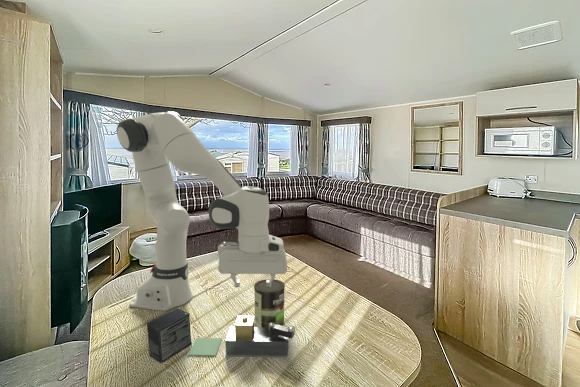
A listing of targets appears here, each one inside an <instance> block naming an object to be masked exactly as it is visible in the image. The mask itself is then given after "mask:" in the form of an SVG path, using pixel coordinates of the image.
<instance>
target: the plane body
mask: <svg viewBox="0 0 580 387" xmlns="http://www.w3.org/2000/svg"><path fill="white" fill-rule="evenodd" d="M289 339H290V338H287V337H284V336H280V335H277V334H273V335H270V334H269V327H255V326H254V332H253V337H252V338H235V326H230V327H229V330H228V333H227V335H226V339H225V358H262V359H263V358H265V359H266V358H267V359H268V358H269V359H273V358H274V359H288V358H289Z"/></svg>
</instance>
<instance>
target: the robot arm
mask: <svg viewBox="0 0 580 387" xmlns="http://www.w3.org/2000/svg"><path fill="white" fill-rule="evenodd" d="M116 136H117V139H118V142H119V144H120V145H121V147H122V148H123V149H124V150H126V151H128V152H130V153H132V159H133V163H134V167H135V170H136V172H137V175H138V178H139V181H140V184H141V188H142V190H143V193H144V197H145V201H146V204H147V208H148V211H149V214H150V218H151V220H152V221H153V223H154V224H155V226H156V240H155V241H156V243H155V247H154V248H155V263H154V265H153V266H151V268H150V269H149V271H150V272H149V274H150V276H148V277H147V278H146V279H144V281H142V282H141V283H140V284H139V286H138V287H137V290H136V294H135V295H133V297H132V299H131V300H130V304H129V305H130V307H131V308H132V307H133V308H138V309H139V308H140V309H145V310H146V309H147V310H154V311H163V312H164V311H165V312H166V311H169V310H170V309H172V308H175V307H176V308H177V307H179V306H183V305H184V304H186V303H189V302H190V301H191V300H192V298H193V293H192V290H191V287H190V282H189V263H188V260H187V238H188V230H189V226H190V222H191V219H190V216H189V213H188V211H187V210H186V208H184V207H183V206H182V205H180V203H179V201H178V197H177V191H176V181H175V179H174V176H173V172H172V169H171V167H170V166H171V165H172V166H174V167H175V168H176V169H177V170H178V171H181V172H183V173H187V174H193V175H195V176H196V175H197V176H199V177H200V176H201V177H203V178H205V179H207V180H209V181H210V182H212V183H213V184H214V185H215V187H216V188H217V189H218V190H219V191H220V192H221V194H222V195H223V196H220V197H217V198H215V199H214V200H213V201H211V203H210V204H209V207H208V218H209V220H210V222H211V224H212V225H213V226H215V227H216V228H217V229H220V230H231V229H237V231H238V234H237V235H238V239H237V240H238V241H222V243H220V244H218V246H217V253H218V254H217V255H218V256H219V259H218V270H217V271H218V272H219V273H220V274H223V275H224V274H227V275H229V274H230V278H231V280H232V281H233V283H234V285H233V286H234V288H240V287H241V286H240V285H241V279H238V278H237V277H236V276H237V275H238V274H239V275H245V274H246V275H249V274H250V275H251V274H252V275H270V277H269V278H268V279H269V280H267V282H266V287H271V282H272V281H273V280H274V279H275V278H276V275H285V274H286V273H287V272H288V261H287V260H288V259H287V254H286V250H285V248H284V240H283V239H282V238H281V237H278V236H274V235H272V234H269V233H270V230H269V225H268V224H269V220H270V203H269V202H270V201H269V196H268V194H267V192H266V190H264V189H263V188H261V187H258V186H250V185H245V186H242V185H241V184H240V183H239V181H238V180H236V178H235V177H234V176H233V175H232V174H231V173H230V171H229V170H228V169H227V168H226V167H225V166H224V164H223V163H222V162H221V161H220V160H218V158H217V157H216V156H214V155H213V154H212V153H211V152H210V151H209V150H208V148H207V147H205V145H204V144H203V143H202V142H201V140H200V139H199V138H198V137H197V136H196V134H195V132H194V131H193V130H192V128H191V127H190V126H189V125H188V124H187V123H186V122H185V120H184V118H183V117H182V116H181V115H180V114H179V113H178V112H176V111H172V110H171V111H169V110H167V111H163V112H153V113H152V112H151V113H147V114H145V115H139V116H136V117H133V118H127V119H124V120H122V121H120V122H118V124H117V128H116ZM169 162H170V164H171V165H170V164H169Z"/></svg>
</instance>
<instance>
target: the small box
mask: <svg viewBox="0 0 580 387" xmlns="http://www.w3.org/2000/svg"><path fill="white" fill-rule="evenodd" d="M146 330H147V341H148V343H147V344H148V356H149V357H150V358H152V359H153V360H155V361H156V362H158V363H159V364H163V363H165V362H166V361H169V360H170V359H171V358H173V357H174V356H177V355H178V354H179V353H180V352H183V351H184V350H186V349H188V348H189V347H190V346H192V345H193V343H192V334H191V319H190V313H189V312H188V311H185V310H183V309H180V308H178V307H176V308H174V309H173V310H171V311H168V312H167V313H164V314H162V315H161V316H158V317H156V318H155V319H154V318H153V319H152V320H150V321H148V322H147V323H146Z"/></svg>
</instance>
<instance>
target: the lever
mask: <svg viewBox="0 0 580 387" xmlns="http://www.w3.org/2000/svg"><path fill="white" fill-rule="evenodd" d="M295 332H296V327H295V326H294V325H289V326H285V325H284V326H281V325H277V324H274V323H273V322H271V323H269V334H270V335H273V334H277V335H280V336H284V337H287V338H289V339H291V340H292V339H293V338H294V336H295V334H296V333H295Z"/></svg>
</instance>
